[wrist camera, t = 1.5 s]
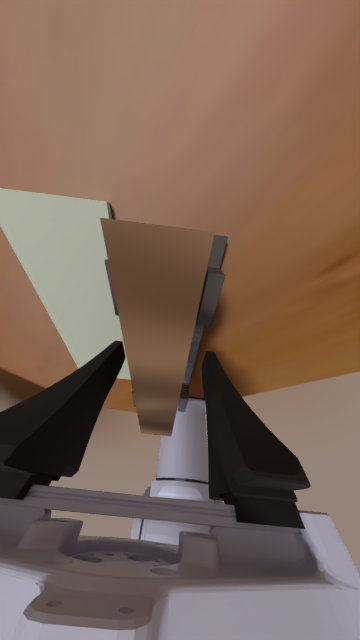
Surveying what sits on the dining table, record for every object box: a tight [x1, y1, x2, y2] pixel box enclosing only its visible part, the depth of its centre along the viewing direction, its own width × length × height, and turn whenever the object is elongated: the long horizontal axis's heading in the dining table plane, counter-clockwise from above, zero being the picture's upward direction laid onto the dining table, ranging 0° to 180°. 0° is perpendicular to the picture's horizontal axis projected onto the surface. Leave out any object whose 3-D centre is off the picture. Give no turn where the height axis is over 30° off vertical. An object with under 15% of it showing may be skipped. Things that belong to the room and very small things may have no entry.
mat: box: [0, 188, 131, 380], centre depth 14 cm, size 20×8×1 cm, turn 174°
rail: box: [100, 218, 215, 436], centre depth 10 cm, size 18×3×3 cm, turn 174°
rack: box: [104, 235, 228, 412], centre depth 12 cm, size 18×7×5 cm, turn 174°
